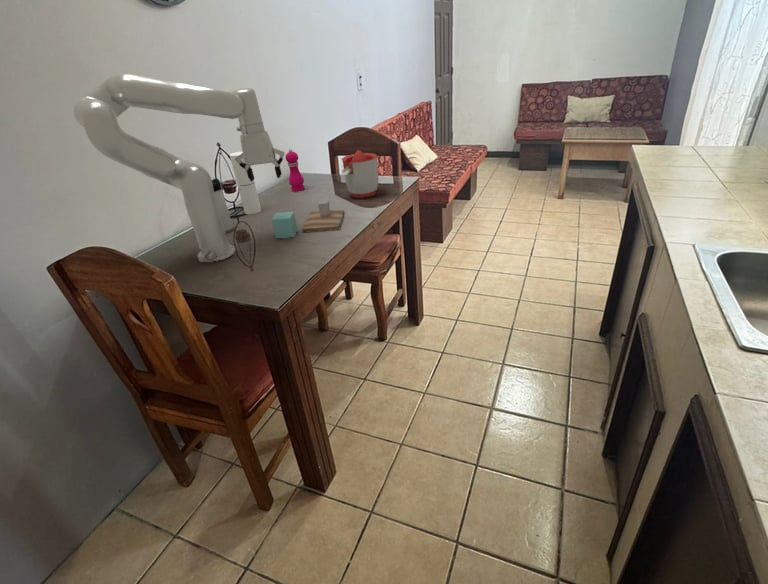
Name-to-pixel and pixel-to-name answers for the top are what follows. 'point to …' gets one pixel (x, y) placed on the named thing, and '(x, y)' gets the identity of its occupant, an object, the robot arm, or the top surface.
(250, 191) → the cylindrical container
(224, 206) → the travel mug
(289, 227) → the mint green cube
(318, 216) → the board
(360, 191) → the citrus juicer
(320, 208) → the block
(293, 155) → the pepper mill
